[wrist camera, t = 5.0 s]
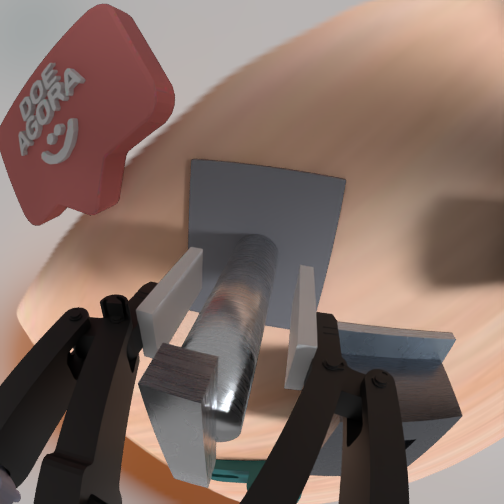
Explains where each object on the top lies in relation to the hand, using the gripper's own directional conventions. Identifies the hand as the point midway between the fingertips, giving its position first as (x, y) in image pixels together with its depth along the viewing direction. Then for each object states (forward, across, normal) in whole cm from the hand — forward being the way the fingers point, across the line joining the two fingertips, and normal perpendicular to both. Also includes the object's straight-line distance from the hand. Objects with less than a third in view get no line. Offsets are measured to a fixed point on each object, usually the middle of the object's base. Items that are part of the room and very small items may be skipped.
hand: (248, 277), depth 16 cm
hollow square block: (+4, +13, -16) cm, 21 cm away
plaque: (+5, -16, +8) cm, 19 cm away
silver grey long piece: (+3, 0, 0) cm, 3 cm away
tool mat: (+4, 0, 0) cm, 4 cm away
